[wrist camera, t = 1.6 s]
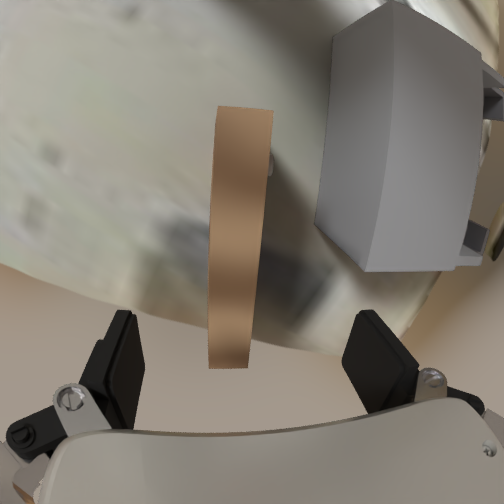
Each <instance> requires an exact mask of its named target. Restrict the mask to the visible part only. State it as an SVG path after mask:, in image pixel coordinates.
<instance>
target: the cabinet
mask: <svg viewBox="0 0 504 504" xmlns="http://www.w3.org/2000/svg"><path fill="white" fill-rule="evenodd" d="M499 88H504V78H503V77H502V76H501V75H500V74H499V73H498V72H496V71H495V70H494V69H493V68H491V67H490V66H489V65H488V64H486V63H485V62H484V61H483V60H482V57H481V52H479V51H478V50H477V49H475V48H474V47H473V46H471V45H470V44H469V43H467V42H466V41H464V40H463V39H461V38H460V37H458V36H457V35H456V34H454V33H452V32H451V31H449V30H448V29H446V28H445V27H443V26H441V25H440V24H438V23H436V22H435V21H433V20H431V19H430V18H428V17H426V16H424V15H422V14H421V13H419V12H417V11H415V10H413V9H411V8H409V7H407V6H405V5H403V4H401V3H399V2H397V1H395V0H390V1H388V2H386V3H385V4H383V5H381V6H380V7H378V8H376V9H375V10H373V11H371V12H370V13H368V14H367V15H365V16H363V17H362V18H360V19H359V20H357V21H356V22H354V23H353V24H351V25H350V26H348V27H347V28H345V29H344V30H342V31H341V32H339V33H338V34H336V35H335V36H333V44H332V64H331V79H330V93H329V105H328V116H327V127H326V136H325V146H324V155H323V163H322V171H321V179H320V187H319V194H318V201H317V208H316V215H315V222H314V224H315V225H316V226H317V227H318V228H319V229H320V230H321V231H322V232H323V233H325V234H326V235H327V236H328V237H329V238H330V239H331V240H332V241H333V242H334V243H335V244H336V245H337V246H338V247H340V248H341V249H342V250H343V251H344V252H345V253H346V254H347V255H348V256H349V257H350V258H351V259H352V260H353V261H354V262H355V263H356V264H357V265H358V266H359V267H360V268H361V269H362V270H363V271H364V272H411V271H454V269H455V266H480V265H481V262H482V259H483V253H484V250H485V246H486V243H487V239H488V235H489V232H490V230H489V229H487V228H485V227H483V226H481V225H479V224H477V223H475V222H473V221H471V220H469V215H470V211H471V206H472V201H473V196H474V191H475V185H476V179H477V173H478V166H479V158H480V149H481V138H482V123H483V119H488V120H497V121H504V92H503V91H501V90H500V89H499Z"/></svg>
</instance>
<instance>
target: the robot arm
mask: <svg viewBox="0 0 504 504" xmlns="http://www.w3.org/2000/svg"><path fill="white" fill-rule="evenodd" d="M342 366H343V368H344V370H345V372H346V373H347V375H348V377H349V379H350V381H351V383H352V384H353V386H354V388H355V390H356V392H357V394H358V396H359V398H360V399H361V401H362V403H363V405H364V407H365V409H366V411H367V413H368V414H366V415H362V416H358V417H353V418H348V419H343V420H338V421H333V422H327V423H321V424H315V425H309V426H302V427H294V428H286V429H277V430H266V431H251V432H231V433H186V432H185V433H184V432H183V433H182V432H161V431H148V430H133V428H134V423H135V417H136V411H137V406H138V401H139V396H140V391H141V386H142V381H143V376H144V372H145V363H144V357H143V352H142V346H141V342H140V335H139V329H138V323H137V317H136V315H135V314H132V312H131V311H130V310H117V311H116V313H115V316H114V318H113V320H112V322H111V324H110V326H109V329H108V331H107V333H106V335H105V337H104V339H103V340H98V341H97V342H96V344H95V347H94V349H93V351H92V353H91V356H90V358H89V360H88V362H87V364H86V367H85V369H84V372H83V374H82V376H81V379H80V381H79V384H76V383H70V384H66V385H64V386H61V387H60V388H59V389H57V390H56V392H55V394H54V395H53V404H54V405H52V406H50V407H48V408H45V409H43V410H41V411H39V412H37V413H34V414H32V415H30V416H28V417H26V418H23V419H21V420H18V421H16V422H14V423H13V424H11V425H10V427H9V428H8V430H7V433H6V441H5V442H4V443H2V442H1V441H0V504H35V503H34V500H33V493H34V491H35V489H36V488H37V487H38V486H39V485H40V483H39V481H40V480H41V479H42V478H43V482H42V486H41V490H40V495H39V500H38V504H504V418H503V417H501V416H499V415H498V414H496V413H494V412H493V411H491V410H489V409H487V410H486V411H485V408H484V404H483V402H482V401H481V400H480V398H479V397H477V396H475V395H472V394H469V393H466V392H463V391H460V390H457V389H454V388H451V387H448V386H447V379H446V377H445V376H444V374H443V373H442V372H440V371H439V370H436V369H434V368H424V369H422V370H421V371H419V370H418V367H419V364H418V362H417V361H416V360H415V359H414V357H413V356H412V355H411V354H410V353H409V351H408V350H407V349H406V348H405V346H403V344H402V343H401V342H400V340H399V339H398V338H397V337H396V336H395V334H394V333H393V332H392V331H391V330H390V328H389V327H388V326H387V325H386V324H385V323H384V321H383V320H382V319H381V318H380V317H379V316H378V314H377V313H376V312H375V311H374V310H361V311H360V312H359V314H357V315H356V317H355V320H354V323H353V327H352V330H351V333H350V336H349V339H348V342H347V345H346V348H345V351H344V354H343V357H342Z"/></svg>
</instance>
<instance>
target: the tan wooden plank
mask: <svg viewBox="0 0 504 504" xmlns="http://www.w3.org/2000/svg"><path fill="white" fill-rule="evenodd" d="M273 112H274V111H272V110H263V109H253V108H241V107H227V106H218V109H217V115H216V124H215V137H214V151H213V166H212V183H211V202H210V225H209V256H208V355H209V356H208V358H209V369H211V368H212V369H213V368H214V369H227V368H228V369H229V368H230V369H232V368H248V361H249V352H250V342H251V333H252V324H253V314H254V305H255V296H256V286H257V276H258V267H259V257H260V247H261V237H262V227H263V217H264V207H265V197H266V187H267V176H271V175H272V172H273V166H274V158H273V155H271V154H270V145H271V134H272V123H273Z"/></svg>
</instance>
